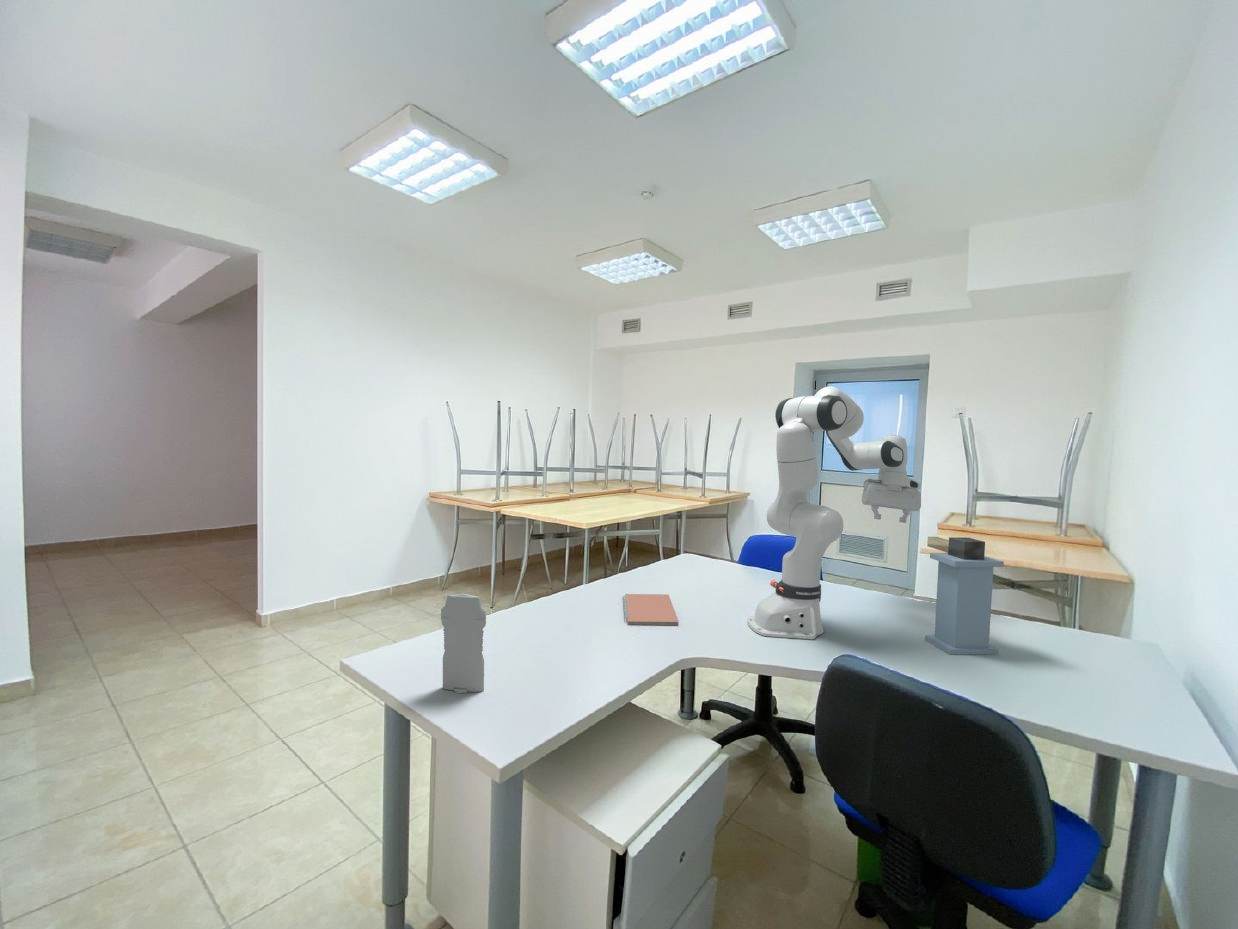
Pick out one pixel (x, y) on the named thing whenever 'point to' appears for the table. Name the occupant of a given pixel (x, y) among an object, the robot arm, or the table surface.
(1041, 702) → the table surface
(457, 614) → the tall pale column
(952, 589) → the stand
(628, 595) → the notebook
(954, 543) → the mallet
